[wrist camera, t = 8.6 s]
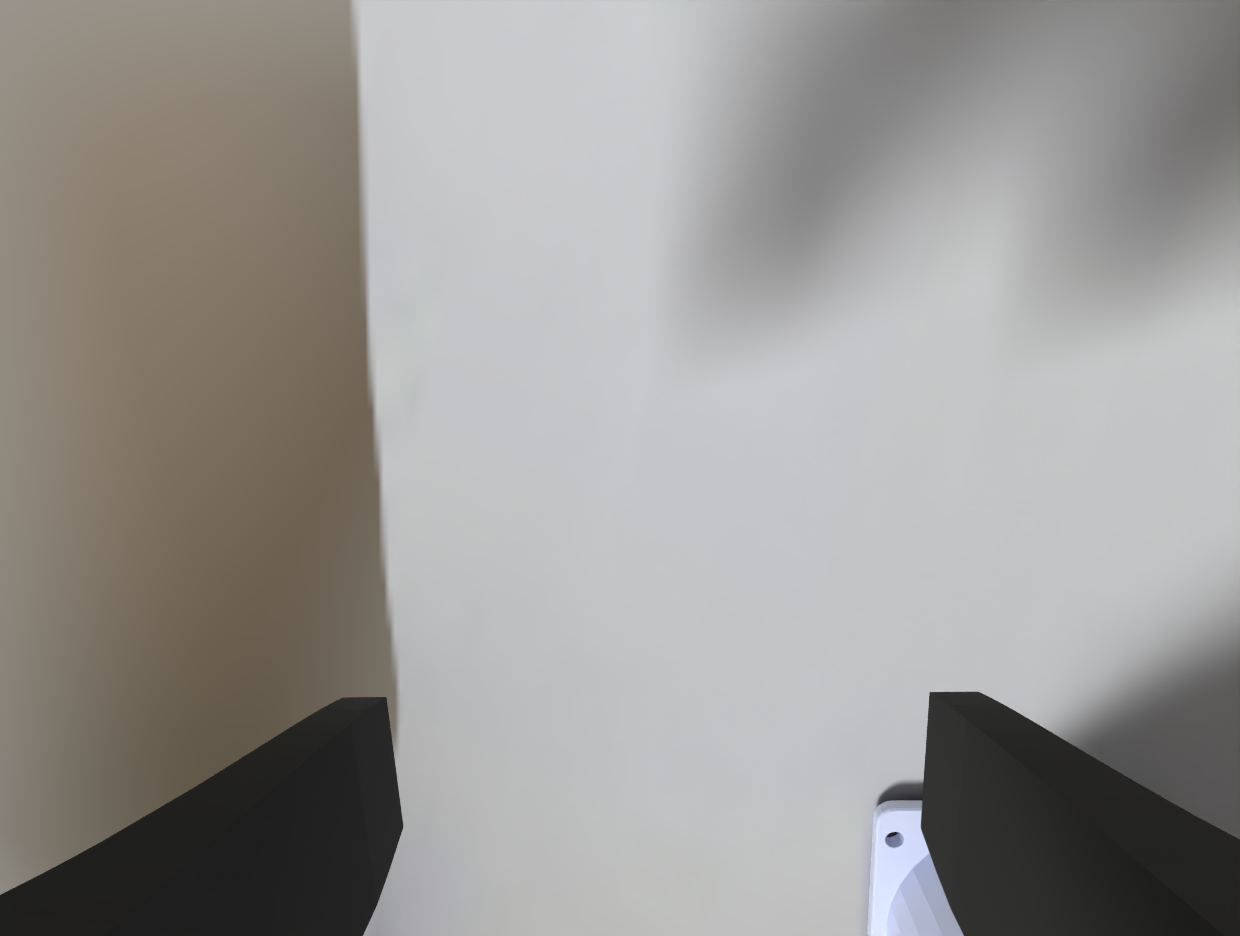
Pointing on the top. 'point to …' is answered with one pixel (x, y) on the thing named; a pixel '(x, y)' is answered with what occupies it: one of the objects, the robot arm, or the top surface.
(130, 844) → the robot arm
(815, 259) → the top surface
